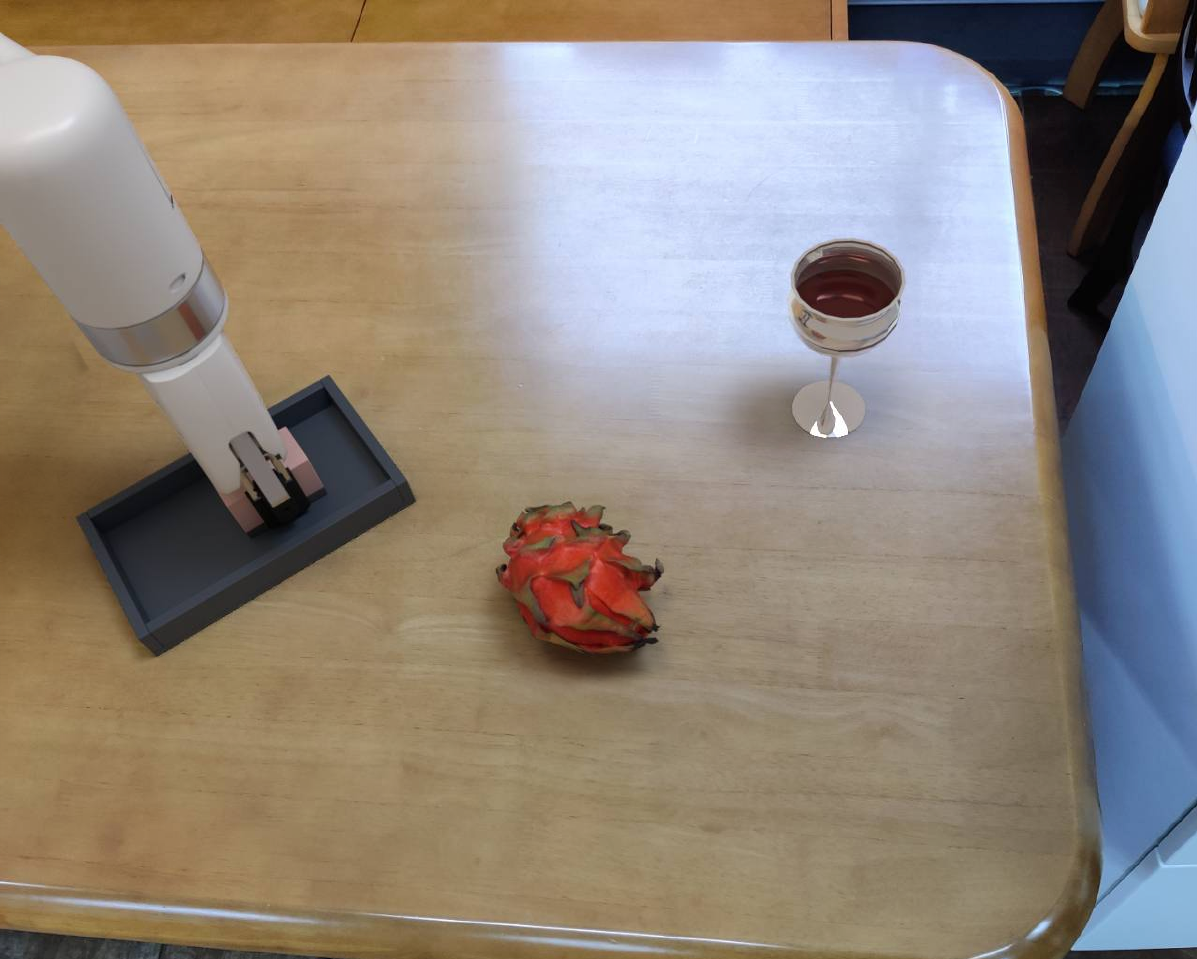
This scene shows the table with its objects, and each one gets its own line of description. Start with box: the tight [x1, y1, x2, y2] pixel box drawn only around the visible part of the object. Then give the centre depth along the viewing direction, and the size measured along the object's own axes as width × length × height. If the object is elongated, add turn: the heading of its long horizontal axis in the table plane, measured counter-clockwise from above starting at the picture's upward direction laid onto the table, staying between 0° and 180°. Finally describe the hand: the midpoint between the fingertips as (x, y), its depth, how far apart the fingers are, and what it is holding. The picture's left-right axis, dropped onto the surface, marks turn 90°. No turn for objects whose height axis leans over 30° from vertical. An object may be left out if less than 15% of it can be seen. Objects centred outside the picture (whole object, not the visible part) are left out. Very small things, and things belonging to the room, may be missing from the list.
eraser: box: [212, 427, 327, 539], centre depth 71 cm, size 6×4×4 cm, turn 124°
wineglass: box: [787, 237, 907, 438], centre depth 67 cm, size 7×7×12 cm
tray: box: [75, 374, 417, 657], centre depth 71 cm, size 20×12×2 cm, turn 124°
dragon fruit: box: [495, 501, 665, 658], centre depth 64 cm, size 8×8×12 cm
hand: (275, 493), depth 72 cm, fingers closed on eraser, 3 cm apart
